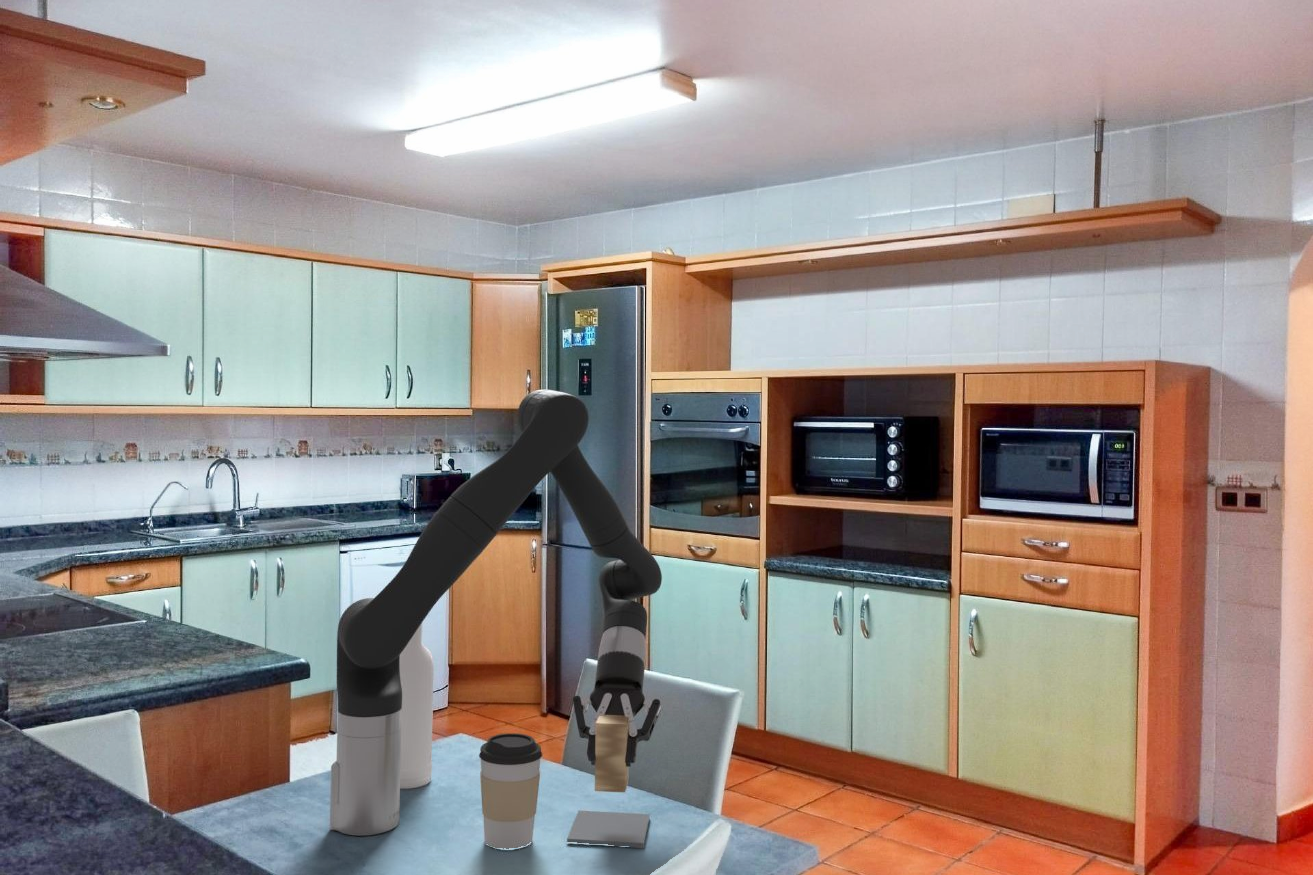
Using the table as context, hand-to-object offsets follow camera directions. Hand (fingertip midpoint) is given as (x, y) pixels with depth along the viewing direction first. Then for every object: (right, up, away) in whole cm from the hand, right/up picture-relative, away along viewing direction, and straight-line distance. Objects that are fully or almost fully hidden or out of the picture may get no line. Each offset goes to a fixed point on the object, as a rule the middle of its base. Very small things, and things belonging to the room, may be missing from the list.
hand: (610, 762), depth 149 cm
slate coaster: (0, -11, +2) cm, 11 cm away
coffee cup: (-15, -11, -3) cm, 18 cm away
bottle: (-35, -10, +21) cm, 42 cm away
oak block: (0, -4, +2) cm, 5 cm away
